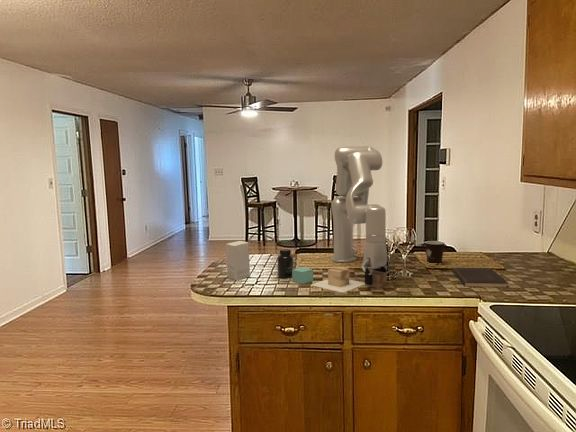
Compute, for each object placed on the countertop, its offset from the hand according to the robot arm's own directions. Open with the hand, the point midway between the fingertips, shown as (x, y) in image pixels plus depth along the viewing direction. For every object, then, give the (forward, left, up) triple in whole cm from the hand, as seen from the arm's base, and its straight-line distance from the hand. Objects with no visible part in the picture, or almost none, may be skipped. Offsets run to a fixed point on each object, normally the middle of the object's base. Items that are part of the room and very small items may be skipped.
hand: (375, 281), depth 171 cm
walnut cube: (0, 0, -3) cm, 3 cm away
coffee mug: (-52, -2, -3) cm, 52 cm away
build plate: (+8, -12, -2) cm, 15 cm away
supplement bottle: (+11, -39, -3) cm, 41 cm away
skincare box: (+25, -54, -3) cm, 60 cm away
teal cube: (+14, -26, -3) cm, 30 cm away
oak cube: (+8, -12, -1) cm, 15 cm away
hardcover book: (-37, +25, -3) cm, 45 cm away
